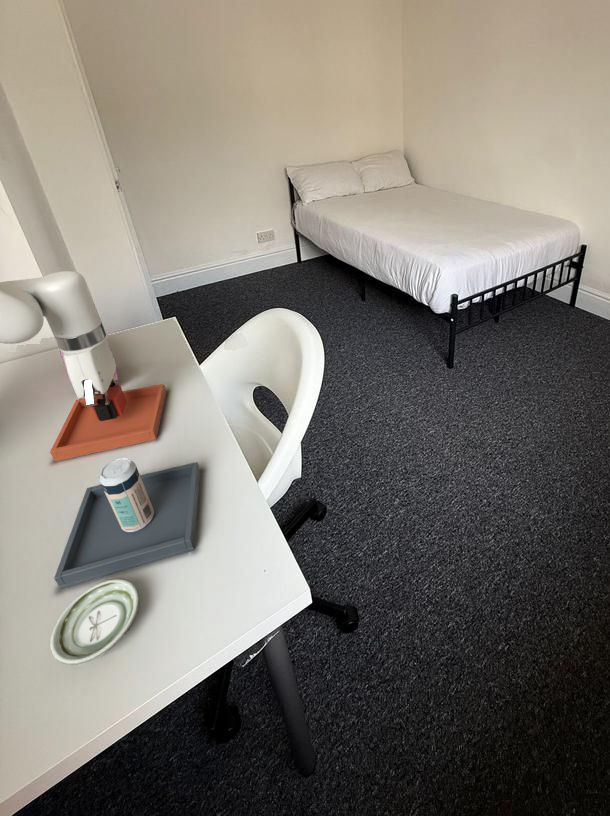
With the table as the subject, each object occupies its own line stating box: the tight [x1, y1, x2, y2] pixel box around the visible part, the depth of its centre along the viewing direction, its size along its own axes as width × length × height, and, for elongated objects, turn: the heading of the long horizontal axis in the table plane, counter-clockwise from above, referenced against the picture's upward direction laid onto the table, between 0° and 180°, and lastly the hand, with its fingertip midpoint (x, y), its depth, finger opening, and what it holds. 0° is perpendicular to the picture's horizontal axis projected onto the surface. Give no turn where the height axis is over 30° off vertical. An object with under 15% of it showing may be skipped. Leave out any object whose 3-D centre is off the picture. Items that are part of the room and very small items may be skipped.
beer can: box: [99, 457, 154, 532], centre depth 65 cm, size 5×5×12 cm
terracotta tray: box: [49, 383, 167, 462], centre depth 88 cm, size 18×16×3 cm
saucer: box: [49, 578, 140, 666], centre depth 54 cm, size 10×10×2 cm
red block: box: [92, 384, 127, 420], centre depth 86 cm, size 4×4×4 cm
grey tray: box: [53, 461, 201, 590], centre depth 67 cm, size 18×16×3 cm
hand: (111, 409), depth 87 cm, fingers closed on red block, 4 cm apart
